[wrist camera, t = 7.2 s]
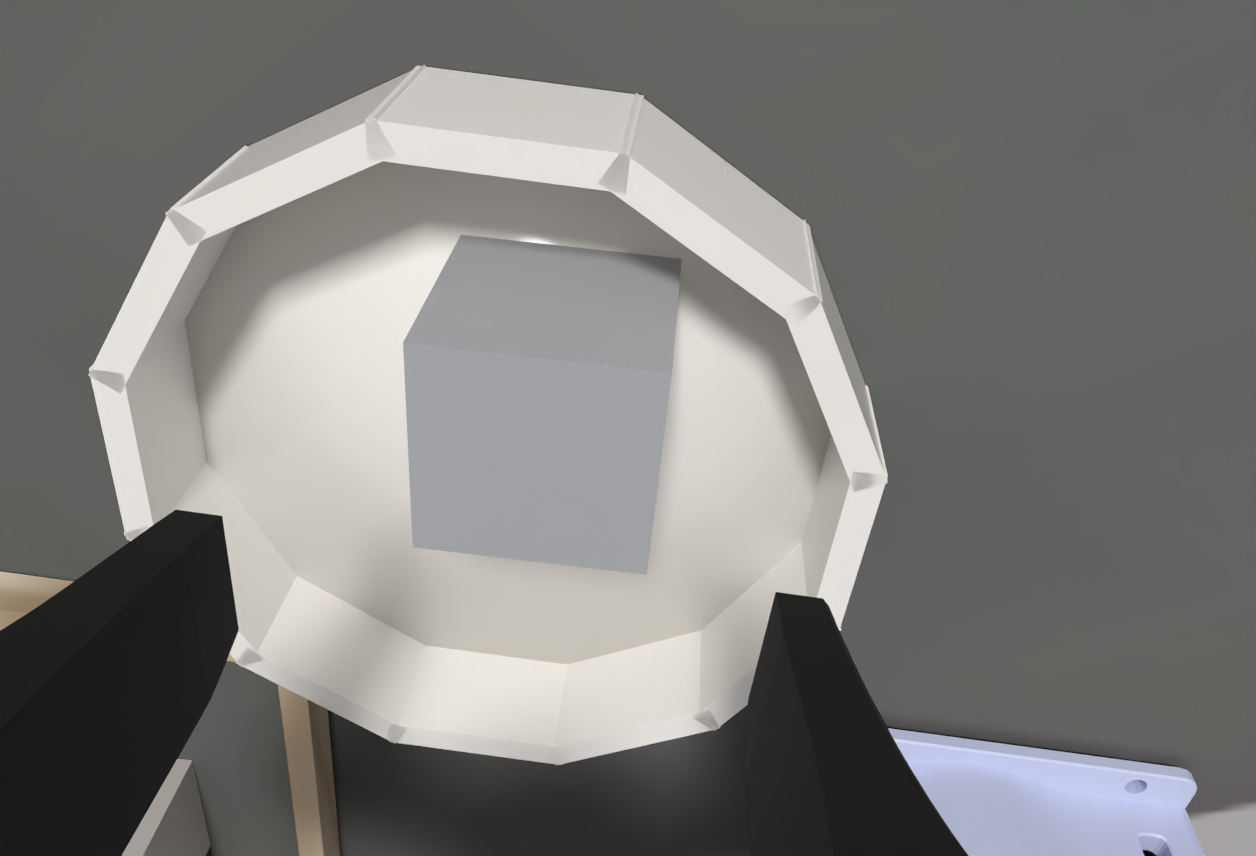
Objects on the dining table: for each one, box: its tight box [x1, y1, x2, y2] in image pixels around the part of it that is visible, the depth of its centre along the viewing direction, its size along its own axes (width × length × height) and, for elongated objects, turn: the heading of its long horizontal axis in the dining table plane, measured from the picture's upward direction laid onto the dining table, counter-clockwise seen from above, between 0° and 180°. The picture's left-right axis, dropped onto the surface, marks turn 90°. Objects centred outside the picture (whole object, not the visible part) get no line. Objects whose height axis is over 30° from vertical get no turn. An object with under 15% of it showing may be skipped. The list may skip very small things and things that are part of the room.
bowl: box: [88, 65, 888, 765], centre depth 20 cm, size 14×14×3 cm
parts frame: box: [0, 571, 340, 856], centre depth 28 cm, size 12×12×1 cm
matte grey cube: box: [403, 235, 682, 575], centre depth 18 cm, size 4×4×4 cm
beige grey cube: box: [122, 759, 210, 856], centre depth 28 cm, size 4×4×4 cm
